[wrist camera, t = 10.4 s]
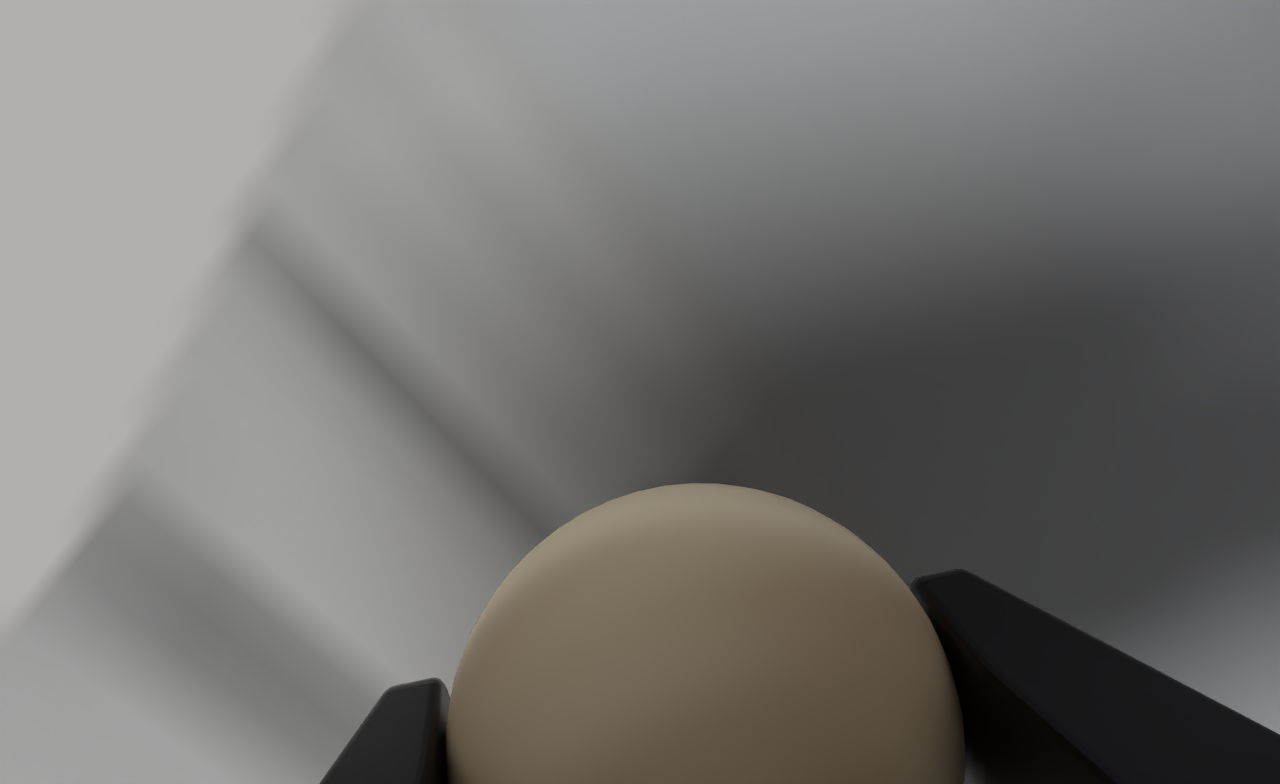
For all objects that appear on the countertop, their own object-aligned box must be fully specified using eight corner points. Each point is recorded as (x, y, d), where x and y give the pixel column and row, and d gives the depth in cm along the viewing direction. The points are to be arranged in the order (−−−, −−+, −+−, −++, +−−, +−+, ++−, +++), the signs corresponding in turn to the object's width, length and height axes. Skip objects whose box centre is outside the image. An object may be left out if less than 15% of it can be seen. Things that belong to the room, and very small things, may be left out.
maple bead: (946, 609, 11) (1156, 951, 7) (617, 822, 11) (682, 1228, 8) (720, 311, 9) (862, 579, 6) (354, 573, 10) (303, 947, 6)
